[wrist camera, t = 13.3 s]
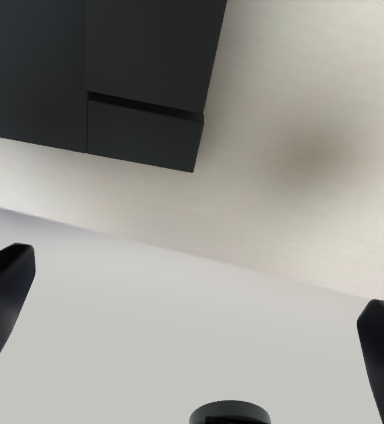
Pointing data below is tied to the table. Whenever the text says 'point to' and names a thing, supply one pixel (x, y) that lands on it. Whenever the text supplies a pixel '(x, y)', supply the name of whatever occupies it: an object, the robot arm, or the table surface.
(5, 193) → the table surface
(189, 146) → the base pad
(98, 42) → the black block
